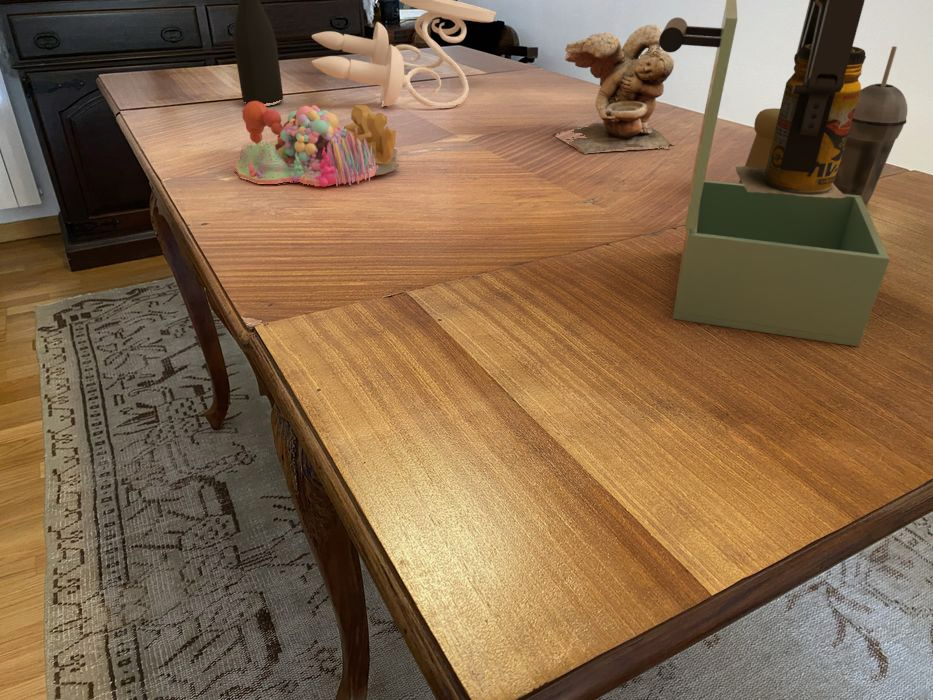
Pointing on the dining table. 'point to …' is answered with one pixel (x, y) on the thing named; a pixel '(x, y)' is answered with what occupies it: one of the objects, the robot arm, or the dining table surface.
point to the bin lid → (723, 40)
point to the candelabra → (388, 59)
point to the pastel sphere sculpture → (316, 146)
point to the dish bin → (781, 264)
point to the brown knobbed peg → (762, 138)
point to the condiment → (831, 143)
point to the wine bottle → (256, 54)
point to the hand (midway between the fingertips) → (793, 158)
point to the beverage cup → (871, 136)
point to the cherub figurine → (623, 88)
